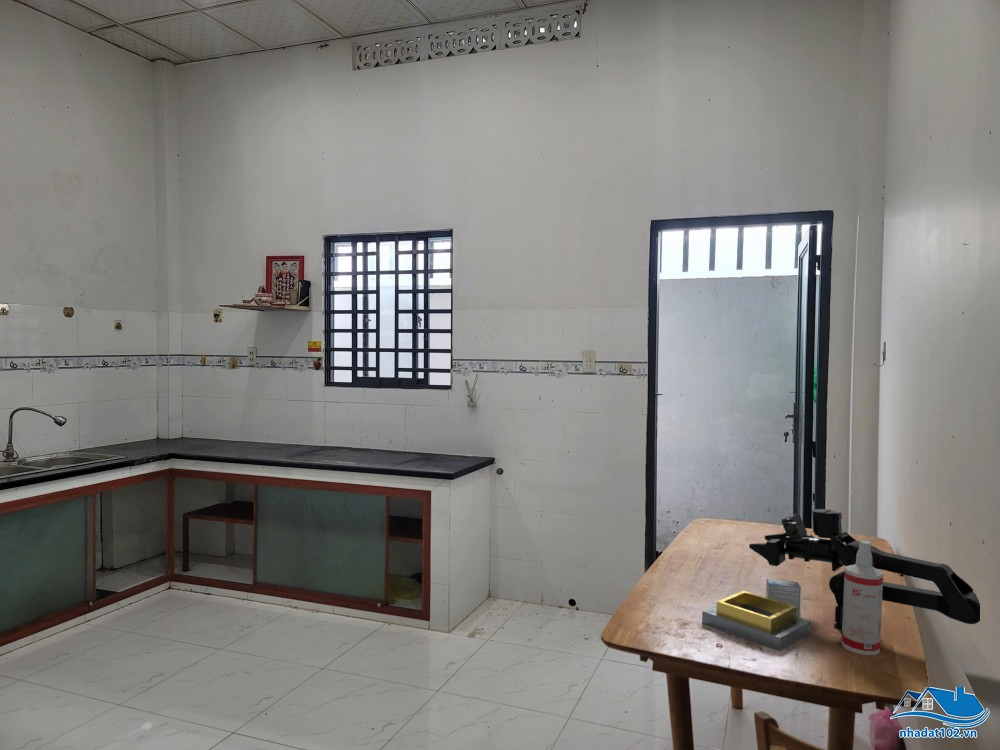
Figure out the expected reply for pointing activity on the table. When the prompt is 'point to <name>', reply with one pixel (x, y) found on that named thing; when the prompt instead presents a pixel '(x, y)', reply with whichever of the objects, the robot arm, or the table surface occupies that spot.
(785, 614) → the gold and grey tray
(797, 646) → the table surface
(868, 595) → the white squeeze bottle
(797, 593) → the medicine box
